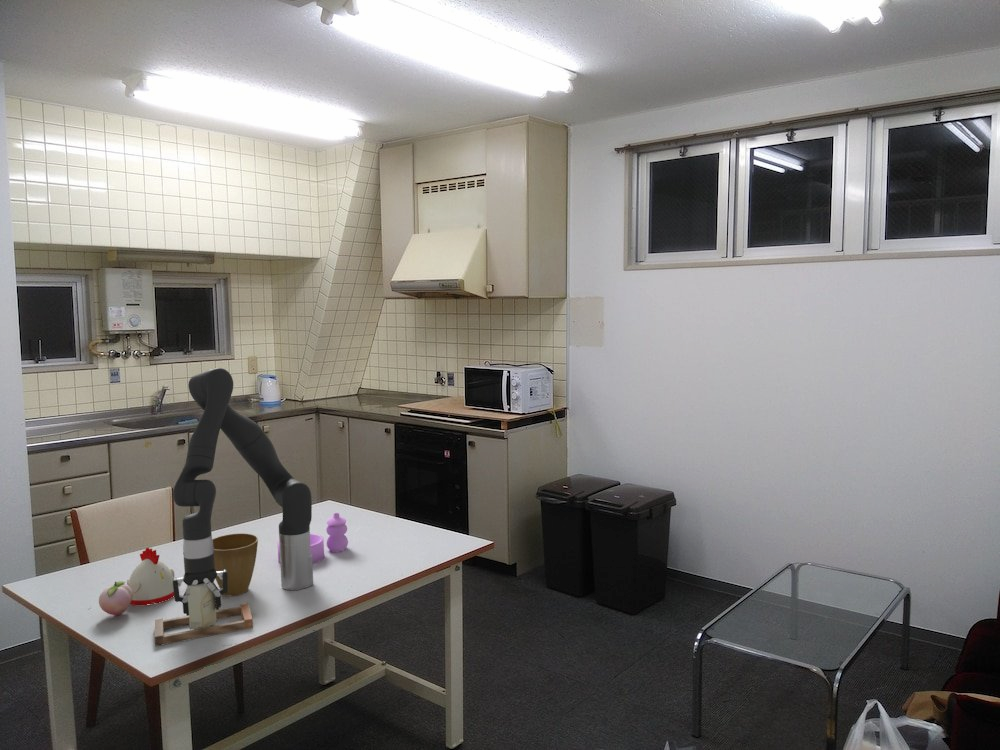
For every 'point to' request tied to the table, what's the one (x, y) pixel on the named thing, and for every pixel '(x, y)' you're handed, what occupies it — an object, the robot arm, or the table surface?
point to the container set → (334, 542)
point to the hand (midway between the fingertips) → (202, 611)
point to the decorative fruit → (116, 598)
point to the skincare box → (201, 606)
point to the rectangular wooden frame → (203, 632)
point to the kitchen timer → (151, 580)
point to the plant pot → (235, 560)
